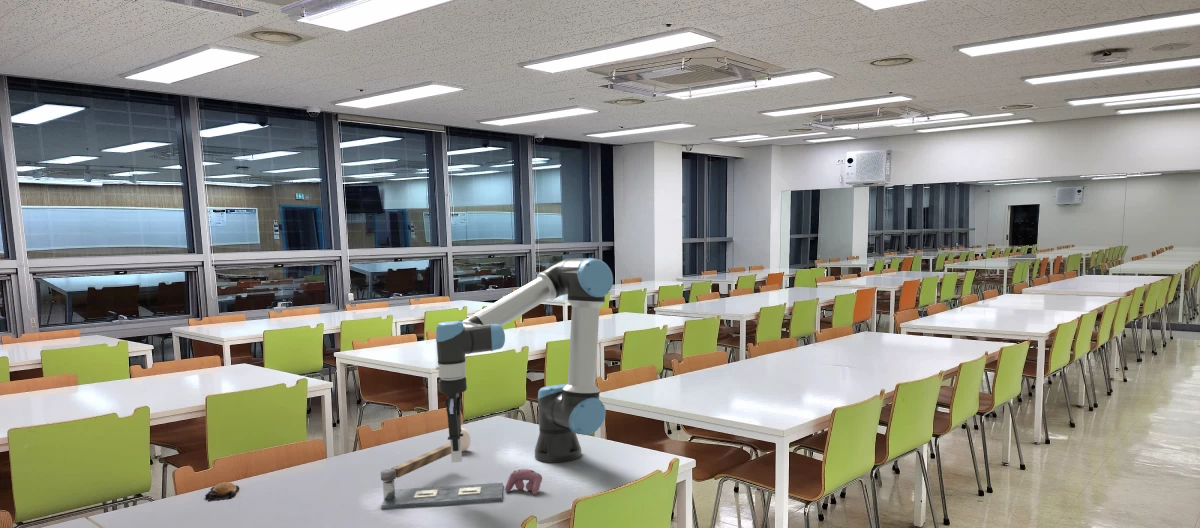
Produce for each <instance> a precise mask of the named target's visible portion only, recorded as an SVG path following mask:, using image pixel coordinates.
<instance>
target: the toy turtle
mask: <svg viewBox="0 0 1200 528" xmlns="http://www.w3.org/2000/svg"><path fill="white" fill-rule="evenodd" d="M240 489H241V488H240V486H239V485H238V484H236V485H235V484H234V483H232V482H231V481H224V482H219V483H218V484H216V485H215V486H212V487H211V488H210V491H208V492H207V493H206V494H205V495H204V498H206V501H208V502H217V501H225V500H226V501H227V500H231V499H234V498H236V497H237V494H238V493H239V492H240Z"/></svg>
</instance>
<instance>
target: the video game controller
mask: <svg viewBox="0 0 1200 528" xmlns="http://www.w3.org/2000/svg"><path fill="white" fill-rule="evenodd" d="M524 481H527V482H526V483H524ZM542 481H543V476H542V474H540V473H539V472H537V471H536V470H533V469H526V468H521V469H515V470H513V471H512V472H511V473H510V474H509V477H508V480H507V481H506V484H505V489H504V490H505V492H506V493H507V494H508V493H510V492H511V490H512V489H513V488H514V485H515V488H516V489H517V490H519V491H521V490H523V489H524V488H525V489H526V490H528V491H529V492H532V494H533V495H534V496H536V495H537V494H538V493H539V491H540V488H541V484H542Z"/></svg>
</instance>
